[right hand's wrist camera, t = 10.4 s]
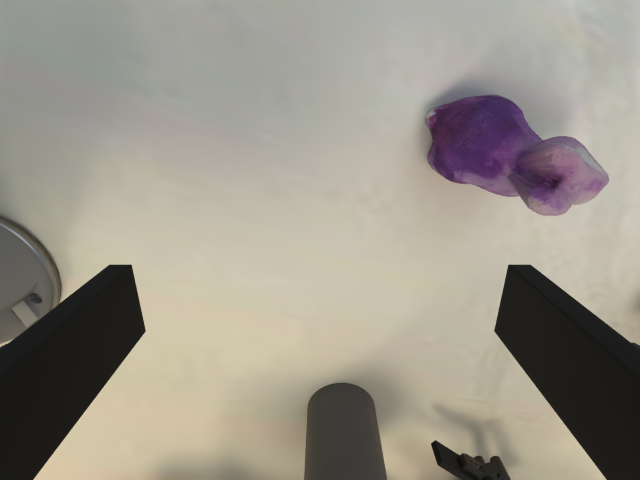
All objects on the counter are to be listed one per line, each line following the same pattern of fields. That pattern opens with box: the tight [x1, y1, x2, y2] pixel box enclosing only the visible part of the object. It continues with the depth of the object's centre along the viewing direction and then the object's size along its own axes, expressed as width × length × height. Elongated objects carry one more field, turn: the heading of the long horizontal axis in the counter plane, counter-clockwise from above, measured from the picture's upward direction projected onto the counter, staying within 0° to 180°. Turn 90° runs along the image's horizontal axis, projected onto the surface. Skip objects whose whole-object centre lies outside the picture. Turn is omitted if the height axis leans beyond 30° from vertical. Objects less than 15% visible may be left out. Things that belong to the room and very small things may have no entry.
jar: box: [304, 383, 387, 480], centre depth 39 cm, size 9×9×18 cm
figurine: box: [425, 95, 609, 216], centre depth 28 cm, size 9×10×15 cm
